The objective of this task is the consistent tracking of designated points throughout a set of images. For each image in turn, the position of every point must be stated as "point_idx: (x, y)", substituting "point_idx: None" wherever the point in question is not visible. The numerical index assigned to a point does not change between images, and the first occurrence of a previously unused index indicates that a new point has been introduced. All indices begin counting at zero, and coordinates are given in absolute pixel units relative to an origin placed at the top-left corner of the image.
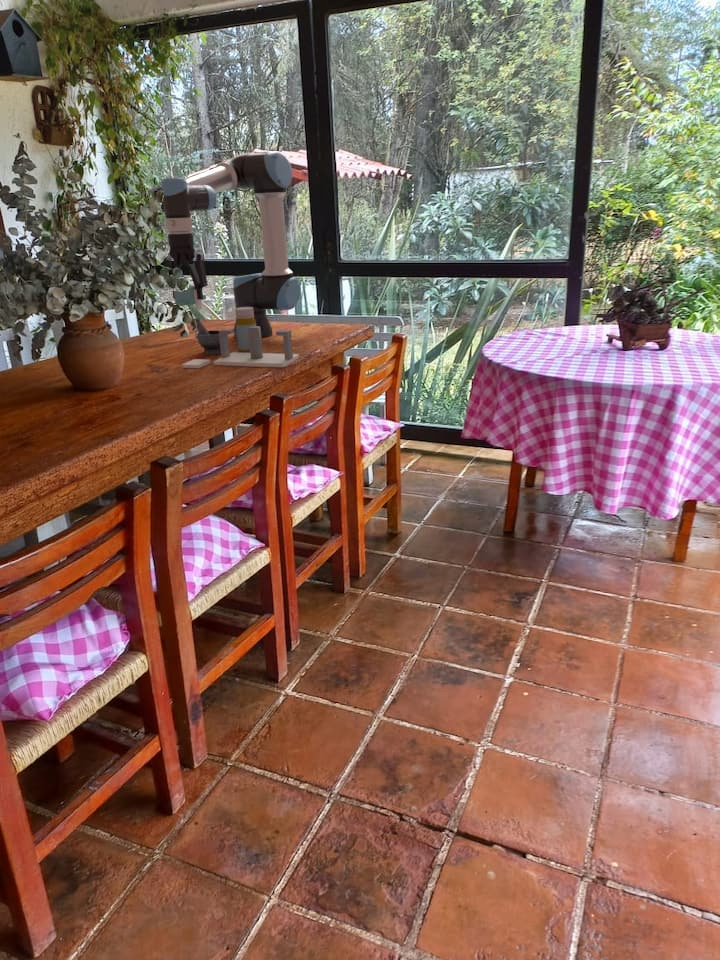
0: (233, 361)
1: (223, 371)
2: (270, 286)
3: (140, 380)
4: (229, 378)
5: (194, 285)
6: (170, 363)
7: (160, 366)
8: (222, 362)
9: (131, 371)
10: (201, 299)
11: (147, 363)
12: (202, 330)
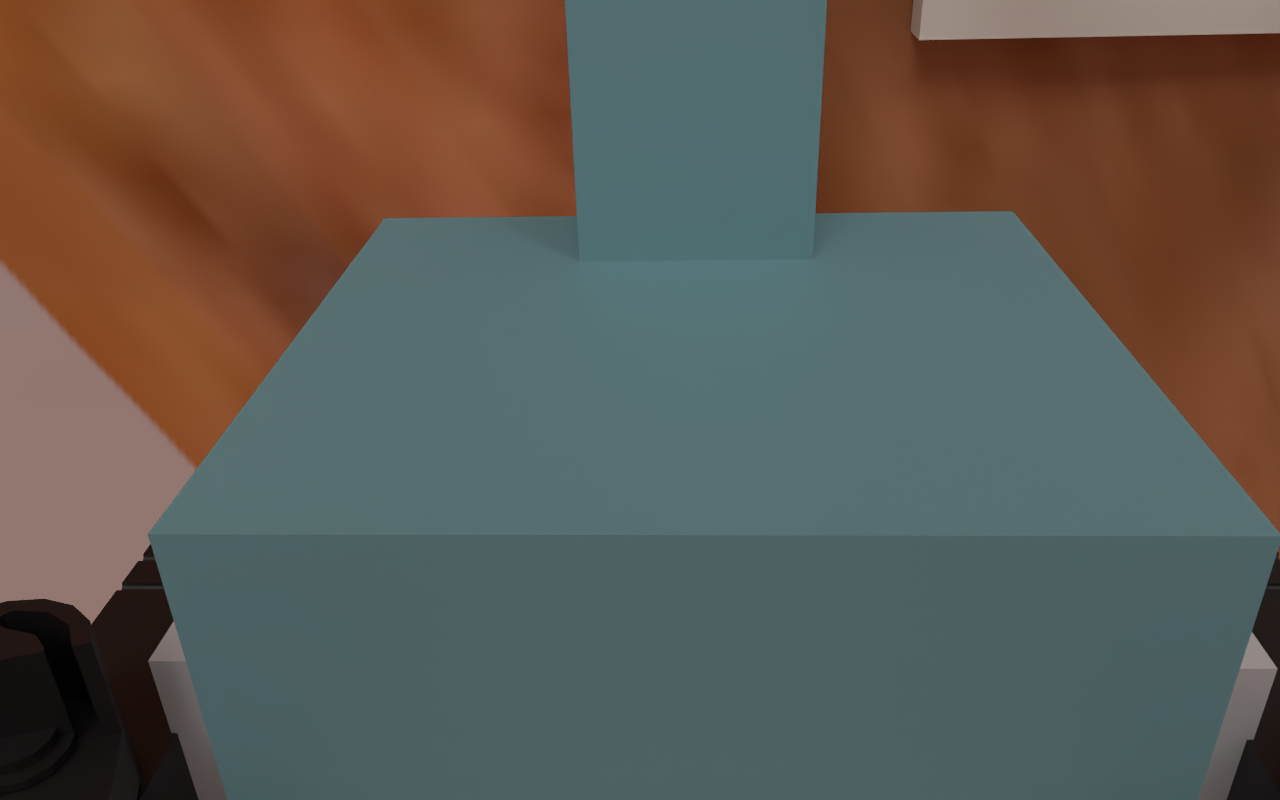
0: (1197, 3)
1: (1134, 296)
2: None
3: None
4: (1275, 520)
5: (952, 609)
6: (302, 37)
7: (295, 198)
8: (1040, 34)
9: (164, 429)
10: (1039, 245)
11: (25, 84)
12: None
